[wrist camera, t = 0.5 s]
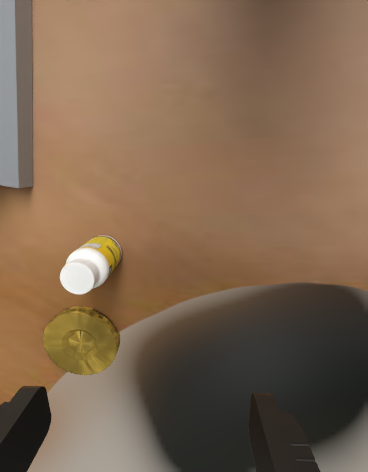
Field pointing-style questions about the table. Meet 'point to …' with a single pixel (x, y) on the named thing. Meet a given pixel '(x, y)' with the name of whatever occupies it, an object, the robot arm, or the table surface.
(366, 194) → the table surface
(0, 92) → the walled pit deck
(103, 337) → the gold flat disc
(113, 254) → the supplement bottle
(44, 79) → the table surface
